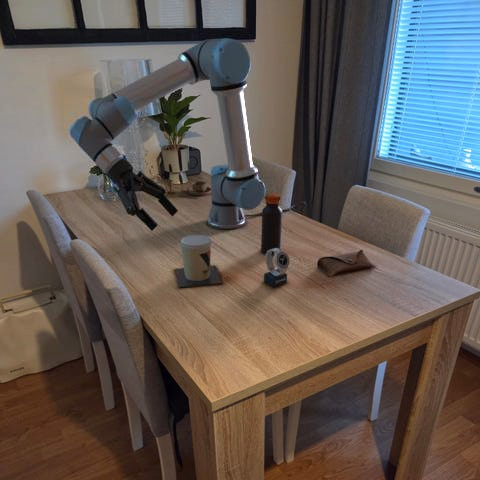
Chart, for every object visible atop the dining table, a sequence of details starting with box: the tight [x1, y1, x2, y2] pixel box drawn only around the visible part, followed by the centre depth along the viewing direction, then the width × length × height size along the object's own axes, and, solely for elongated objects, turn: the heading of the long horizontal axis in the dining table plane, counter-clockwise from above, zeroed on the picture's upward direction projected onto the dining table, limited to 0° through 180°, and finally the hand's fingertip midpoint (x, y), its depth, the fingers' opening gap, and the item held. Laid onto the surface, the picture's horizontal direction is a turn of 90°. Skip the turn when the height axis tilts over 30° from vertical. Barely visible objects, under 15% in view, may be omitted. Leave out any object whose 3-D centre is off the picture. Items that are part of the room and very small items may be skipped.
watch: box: [263, 248, 290, 289], centre depth 134 cm, size 6×8×11 cm
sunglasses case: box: [316, 249, 375, 277], centre depth 146 cm, size 18×7×7 cm, turn 115°
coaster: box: [175, 264, 222, 289], centre depth 140 cm, size 13×13×1 cm
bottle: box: [260, 193, 283, 256], centre depth 153 cm, size 7×7×20 cm
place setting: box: [166, 179, 211, 199], centre depth 219 cm, size 18×20×6 cm
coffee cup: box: [179, 234, 212, 281], centre depth 137 cm, size 9×9×12 cm
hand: (165, 220), depth 135 cm, fingers open, 13 cm apart
